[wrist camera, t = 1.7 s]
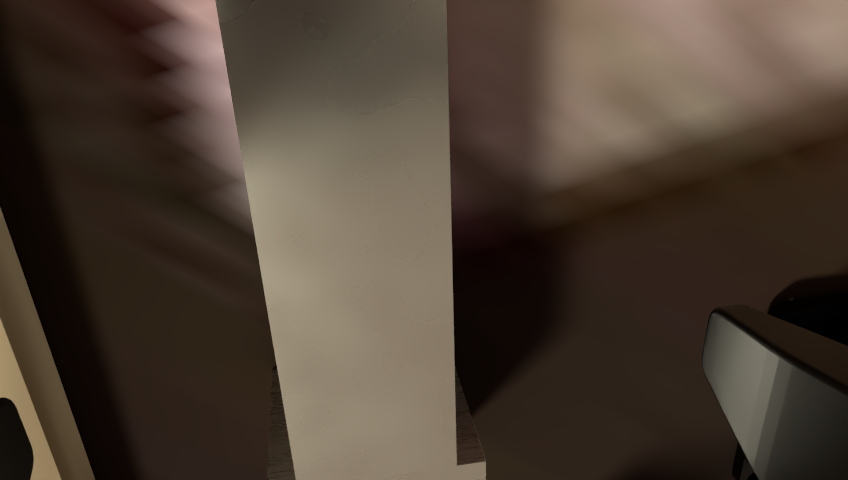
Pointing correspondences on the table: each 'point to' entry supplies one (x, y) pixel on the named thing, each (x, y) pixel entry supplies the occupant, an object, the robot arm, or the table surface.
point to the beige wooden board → (35, 377)
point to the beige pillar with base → (353, 234)
